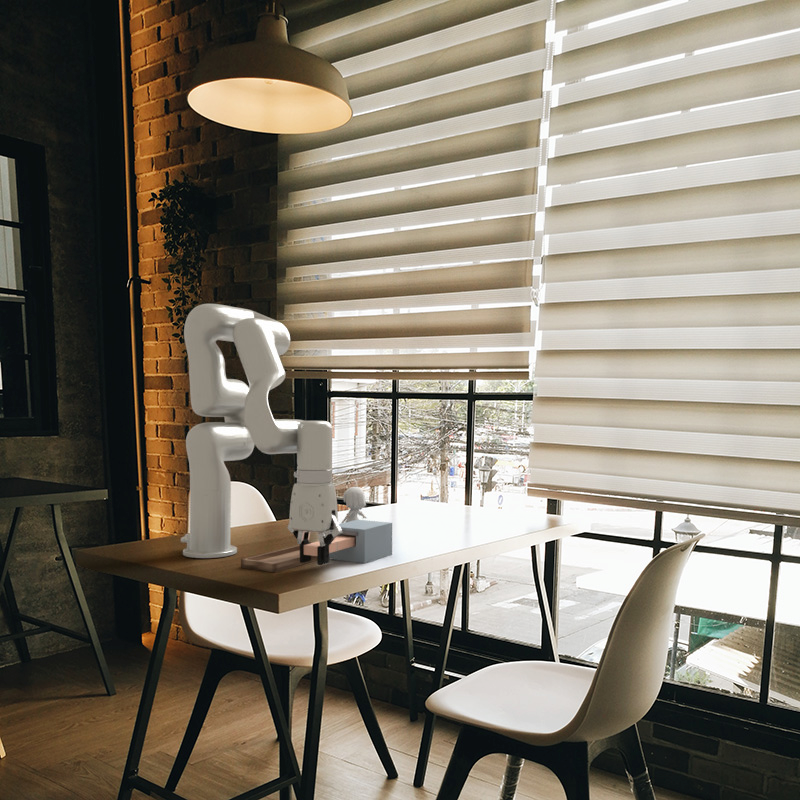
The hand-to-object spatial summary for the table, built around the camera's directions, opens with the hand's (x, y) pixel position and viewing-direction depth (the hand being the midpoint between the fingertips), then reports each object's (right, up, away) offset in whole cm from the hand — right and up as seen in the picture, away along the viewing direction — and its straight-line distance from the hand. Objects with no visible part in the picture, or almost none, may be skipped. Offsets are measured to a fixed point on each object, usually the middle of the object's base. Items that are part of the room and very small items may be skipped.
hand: (314, 562), depth 156 cm
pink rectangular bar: (+3, +2, +6) cm, 7 cm away
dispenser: (+9, -2, +16) cm, 18 cm away
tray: (-7, -2, +10) cm, 12 cm away
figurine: (+7, -3, +31) cm, 32 cm away
